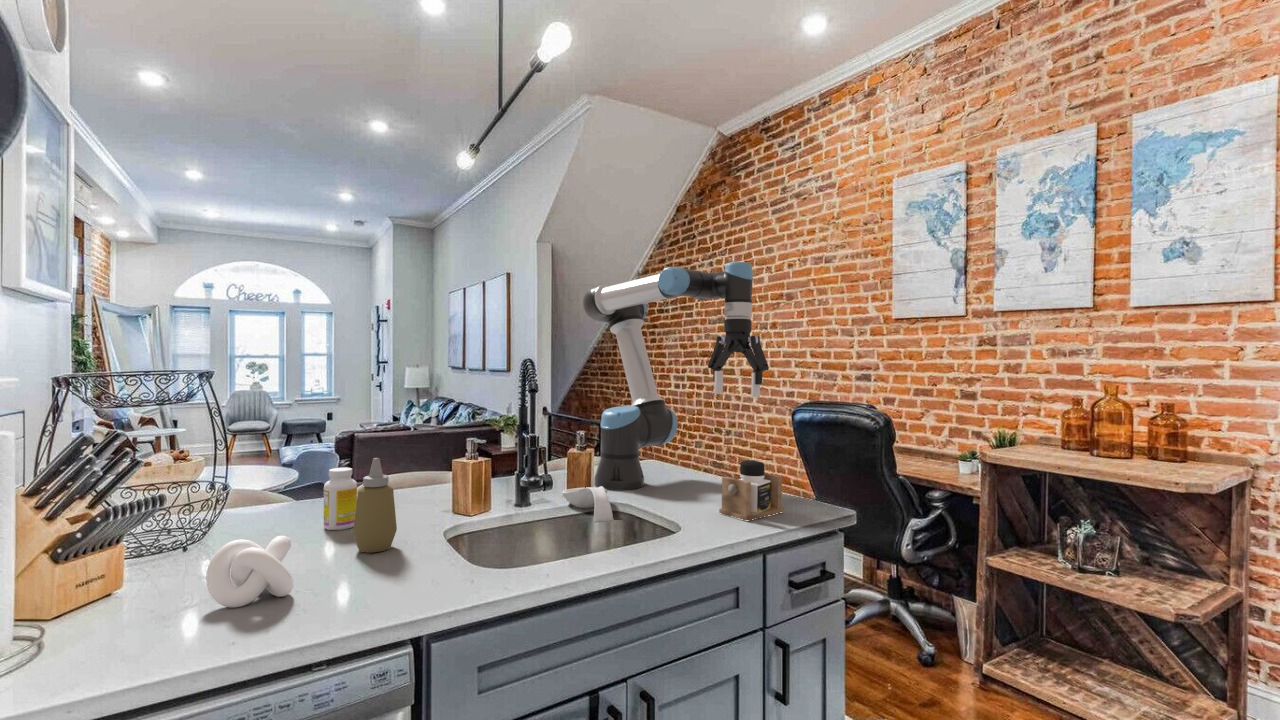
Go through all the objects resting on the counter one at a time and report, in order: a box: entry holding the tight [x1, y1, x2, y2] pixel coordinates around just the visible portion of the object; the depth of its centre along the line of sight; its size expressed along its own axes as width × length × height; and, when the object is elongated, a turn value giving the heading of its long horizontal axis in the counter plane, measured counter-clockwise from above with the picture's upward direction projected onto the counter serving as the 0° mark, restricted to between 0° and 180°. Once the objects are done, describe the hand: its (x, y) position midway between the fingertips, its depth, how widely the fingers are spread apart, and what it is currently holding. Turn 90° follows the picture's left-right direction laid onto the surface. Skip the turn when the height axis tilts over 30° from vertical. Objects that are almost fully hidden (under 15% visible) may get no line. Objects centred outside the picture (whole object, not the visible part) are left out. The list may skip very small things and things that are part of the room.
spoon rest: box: [562, 486, 614, 523], centre depth 151 cm, size 24×12×7 cm, turn 21°
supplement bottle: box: [323, 467, 358, 531], centre depth 133 cm, size 7×7×13 cm
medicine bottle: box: [738, 459, 771, 513], centre depth 150 cm, size 7×7×12 cm
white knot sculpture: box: [205, 535, 294, 609], centre depth 95 cm, size 11×12×9 cm
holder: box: [718, 472, 785, 521], centre depth 150 cm, size 9×15×9 cm, turn 129°
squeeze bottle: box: [352, 457, 398, 553], centre depth 118 cm, size 8×8×18 cm
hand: (736, 395), depth 165 cm, fingers open, 13 cm apart
